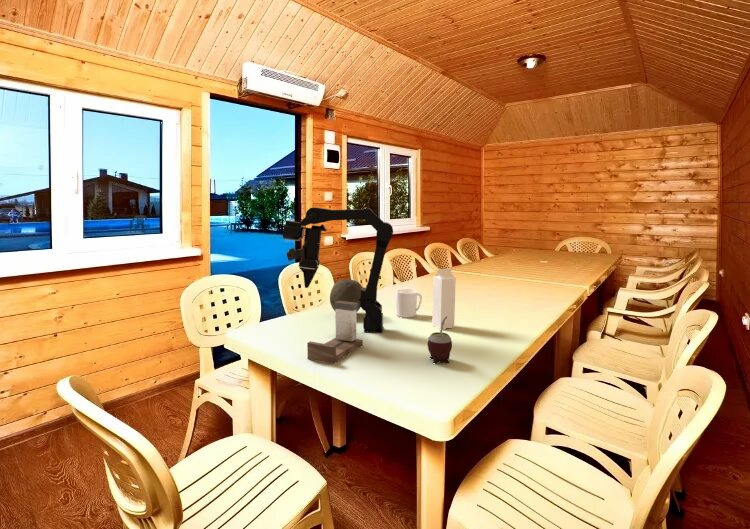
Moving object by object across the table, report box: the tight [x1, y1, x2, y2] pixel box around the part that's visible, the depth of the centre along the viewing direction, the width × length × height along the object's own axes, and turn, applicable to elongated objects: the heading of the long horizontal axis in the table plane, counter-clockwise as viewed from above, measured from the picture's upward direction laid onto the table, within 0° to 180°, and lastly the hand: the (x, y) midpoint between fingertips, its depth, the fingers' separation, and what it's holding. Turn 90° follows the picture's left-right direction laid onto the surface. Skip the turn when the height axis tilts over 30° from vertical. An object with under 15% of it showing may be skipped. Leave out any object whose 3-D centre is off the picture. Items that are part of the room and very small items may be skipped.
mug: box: [395, 288, 423, 319], centre depth 178 cm, size 11×9×10 cm
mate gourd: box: [427, 317, 453, 364], centre depth 127 cm, size 8×8×15 cm
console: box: [307, 337, 364, 365], centre depth 135 cm, size 18×9×5 cm, turn 153°
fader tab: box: [334, 301, 358, 342], centre depth 140 cm, size 3×7×12 cm, turn 63°
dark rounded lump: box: [329, 278, 363, 313], centre depth 178 cm, size 14×14×15 cm
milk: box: [432, 268, 457, 330], centre depth 161 cm, size 6×6×22 cm
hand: (307, 286), depth 155 cm, fingers open, 9 cm apart
